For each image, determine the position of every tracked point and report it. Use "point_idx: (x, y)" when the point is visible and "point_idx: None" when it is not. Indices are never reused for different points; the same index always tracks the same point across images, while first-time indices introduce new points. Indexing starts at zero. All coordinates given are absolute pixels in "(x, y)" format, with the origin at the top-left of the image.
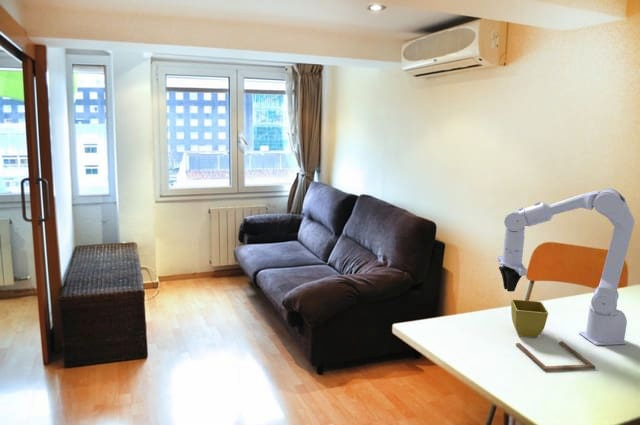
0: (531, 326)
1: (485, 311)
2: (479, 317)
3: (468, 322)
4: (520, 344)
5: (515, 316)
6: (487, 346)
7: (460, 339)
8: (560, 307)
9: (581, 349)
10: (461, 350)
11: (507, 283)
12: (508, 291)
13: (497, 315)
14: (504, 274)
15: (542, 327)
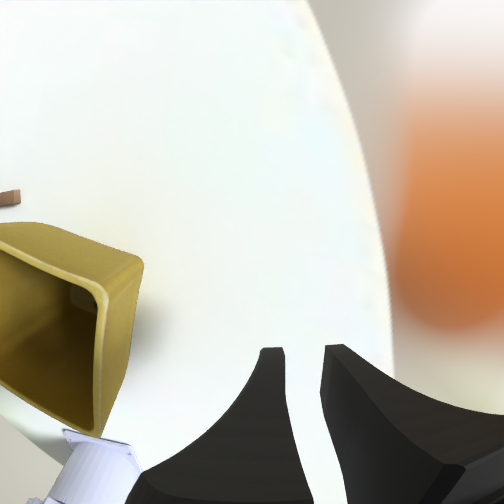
0: (24, 286)
1: (367, 209)
2: (294, 138)
3: (234, 59)
4: (6, 201)
5: (11, 225)
6: (28, 85)
7: (87, 5)
8: (337, 485)
9: None
10: (32, 10)
11: (265, 384)
12: (263, 349)
13: (312, 249)
14: (387, 438)
15: (23, 326)
